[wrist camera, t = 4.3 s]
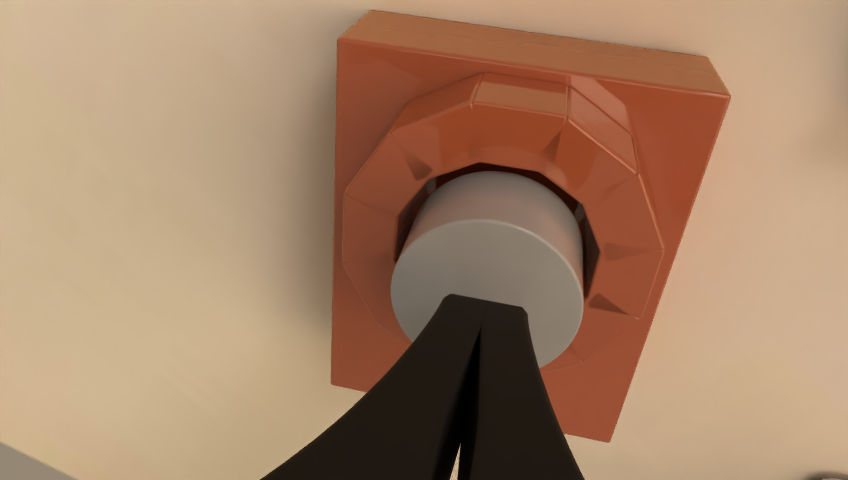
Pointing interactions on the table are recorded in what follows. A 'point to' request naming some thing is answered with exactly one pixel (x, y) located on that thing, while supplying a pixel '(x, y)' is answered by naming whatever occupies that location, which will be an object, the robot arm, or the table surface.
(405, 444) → the robot arm
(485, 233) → the gray push button
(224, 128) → the table surface
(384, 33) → the orange knob plate
